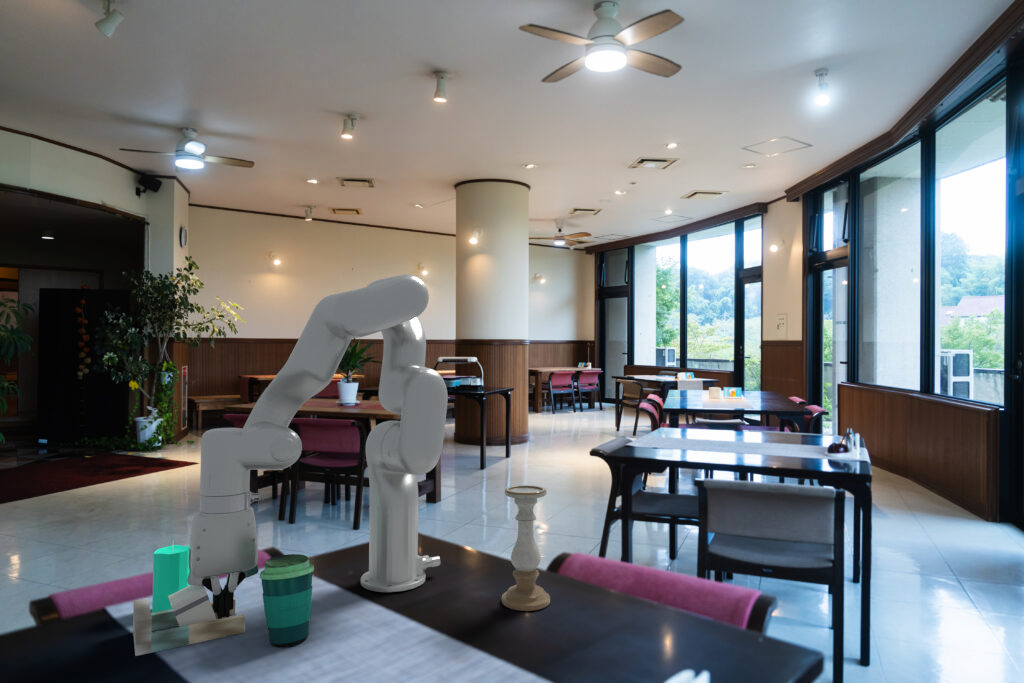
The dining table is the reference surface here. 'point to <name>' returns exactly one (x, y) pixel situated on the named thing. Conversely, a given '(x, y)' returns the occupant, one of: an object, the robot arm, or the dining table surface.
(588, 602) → the dining table surface
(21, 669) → the dining table surface
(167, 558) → the candle
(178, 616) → the striped cream block
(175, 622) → the guide channel
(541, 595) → the candle holder
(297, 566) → the cup
